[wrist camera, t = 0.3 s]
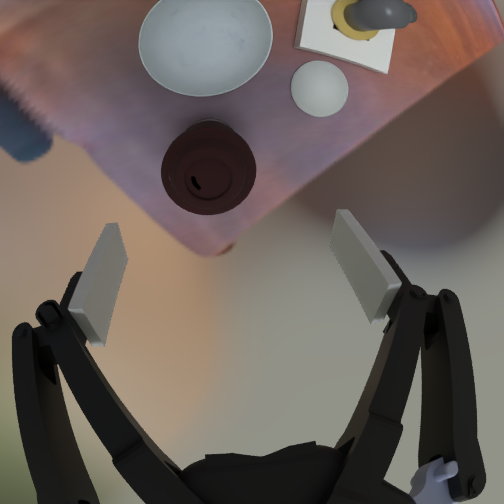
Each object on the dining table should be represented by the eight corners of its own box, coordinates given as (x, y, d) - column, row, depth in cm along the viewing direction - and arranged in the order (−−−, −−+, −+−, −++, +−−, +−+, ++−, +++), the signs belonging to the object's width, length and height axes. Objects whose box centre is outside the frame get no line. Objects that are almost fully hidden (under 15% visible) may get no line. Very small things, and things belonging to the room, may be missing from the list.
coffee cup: (249, 115, 36) (269, 139, 25) (236, 176, 42) (247, 227, 30) (180, 105, 34) (163, 125, 22) (172, 169, 40) (156, 218, 28)
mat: (295, 54, 31) (296, 54, 31) (351, 69, 33) (353, 69, 33) (285, 110, 37) (286, 111, 36) (340, 121, 38) (341, 122, 38)
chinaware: (239, 104, 35) (245, 112, 29) (138, 79, 31) (122, 82, 25) (277, 16, 27) (291, 5, 21) (174, -12, 23) (166, -28, 17)
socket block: (308, -42, 21) (318, -51, 17) (390, -11, 23) (405, -15, 20) (293, 47, 31) (302, 45, 27) (377, 72, 33) (392, 74, 30)
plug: (325, -6, 25) (369, -26, 15) (368, 10, 26) (420, 1, 16) (319, 33, 29) (362, 23, 19) (362, 47, 31) (414, 47, 20)
